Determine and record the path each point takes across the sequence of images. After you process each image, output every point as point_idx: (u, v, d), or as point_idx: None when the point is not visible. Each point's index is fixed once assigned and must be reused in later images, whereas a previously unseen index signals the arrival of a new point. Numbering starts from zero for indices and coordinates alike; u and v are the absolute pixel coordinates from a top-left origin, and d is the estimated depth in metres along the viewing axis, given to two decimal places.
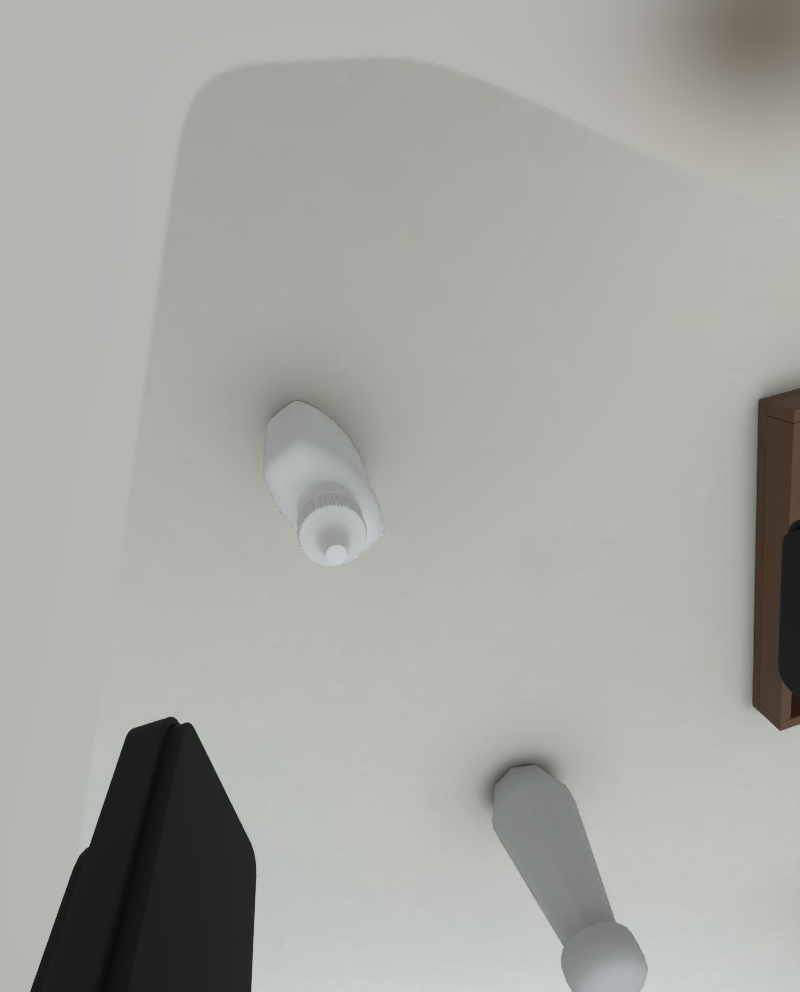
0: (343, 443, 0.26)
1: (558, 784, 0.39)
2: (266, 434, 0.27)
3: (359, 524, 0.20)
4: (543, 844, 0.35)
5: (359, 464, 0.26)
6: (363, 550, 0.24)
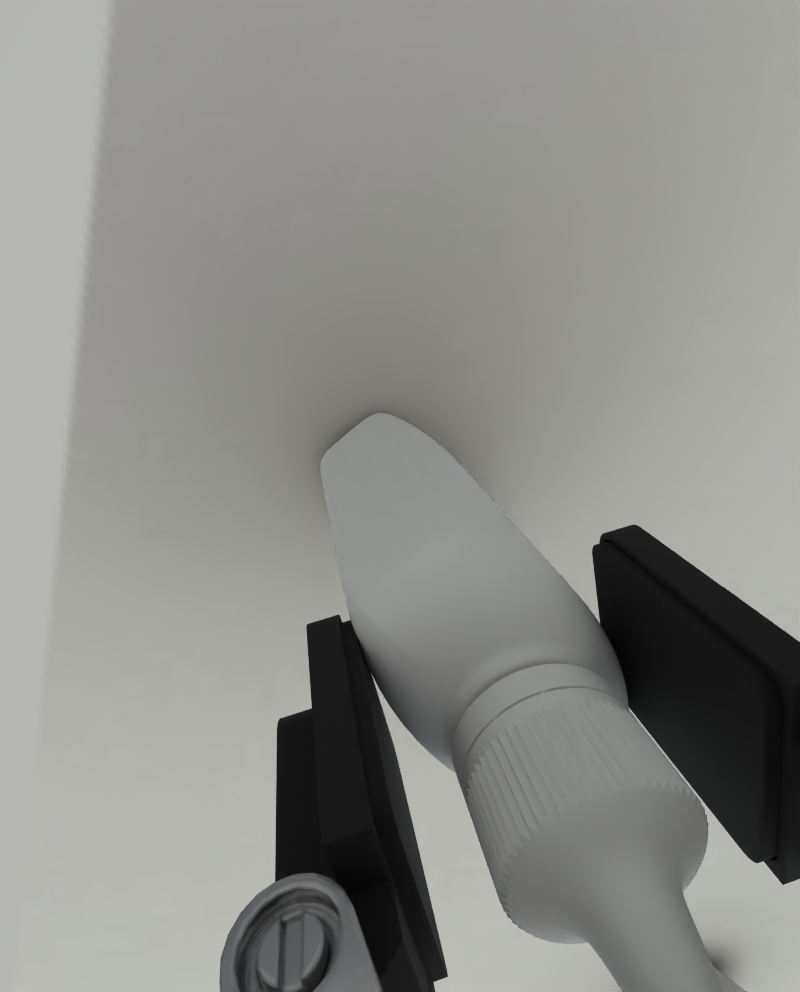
0: (498, 506, 0.12)
1: None
2: (328, 485, 0.13)
3: (699, 832, 0.06)
4: None
5: None
6: None
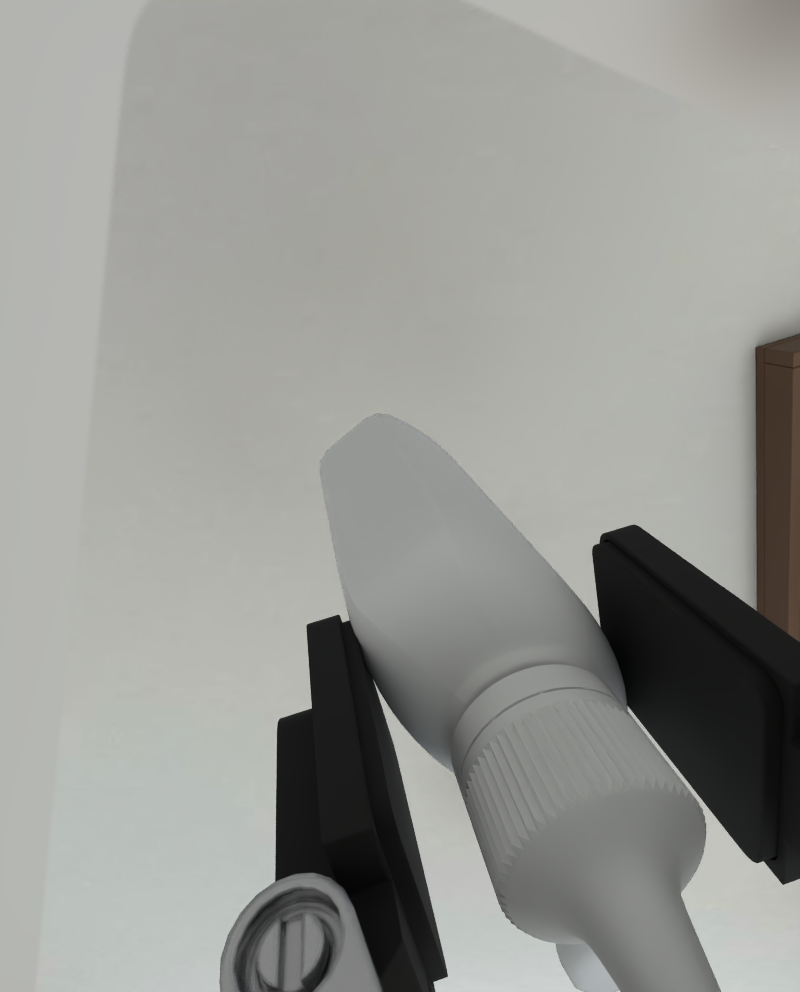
0: (497, 507, 0.12)
1: None
2: (327, 486, 0.13)
3: (697, 833, 0.06)
4: None
5: None
6: None
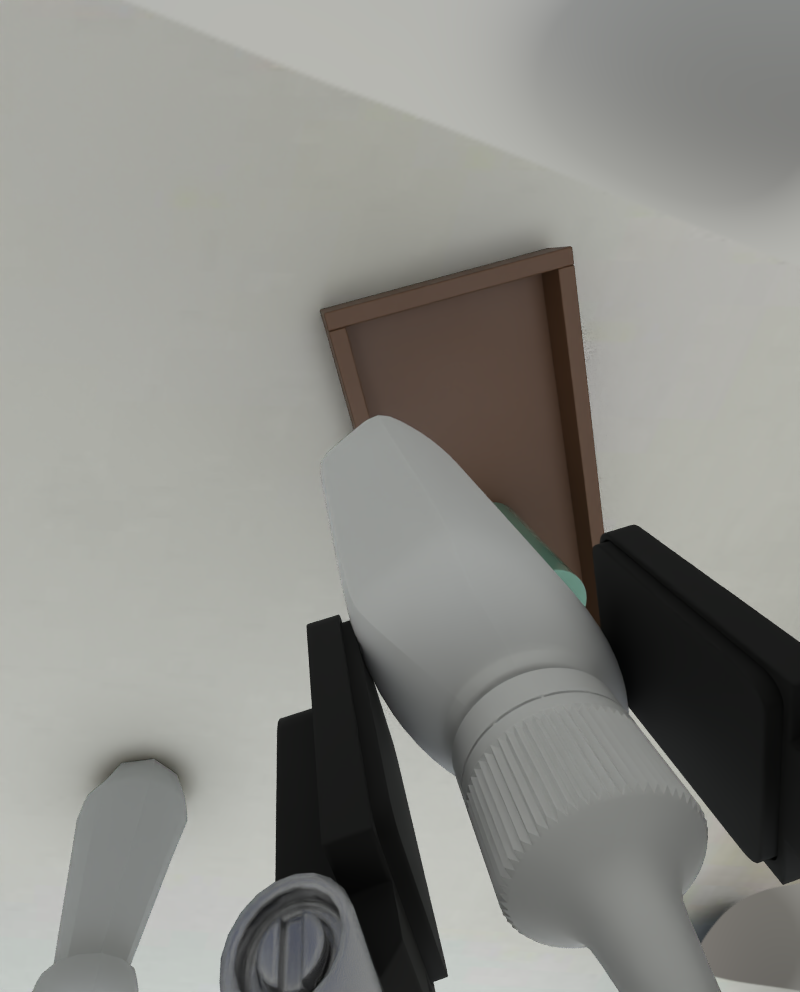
0: (498, 509, 0.12)
1: (153, 782, 0.33)
2: (328, 487, 0.13)
3: (698, 837, 0.06)
4: (86, 854, 0.29)
5: None
6: None
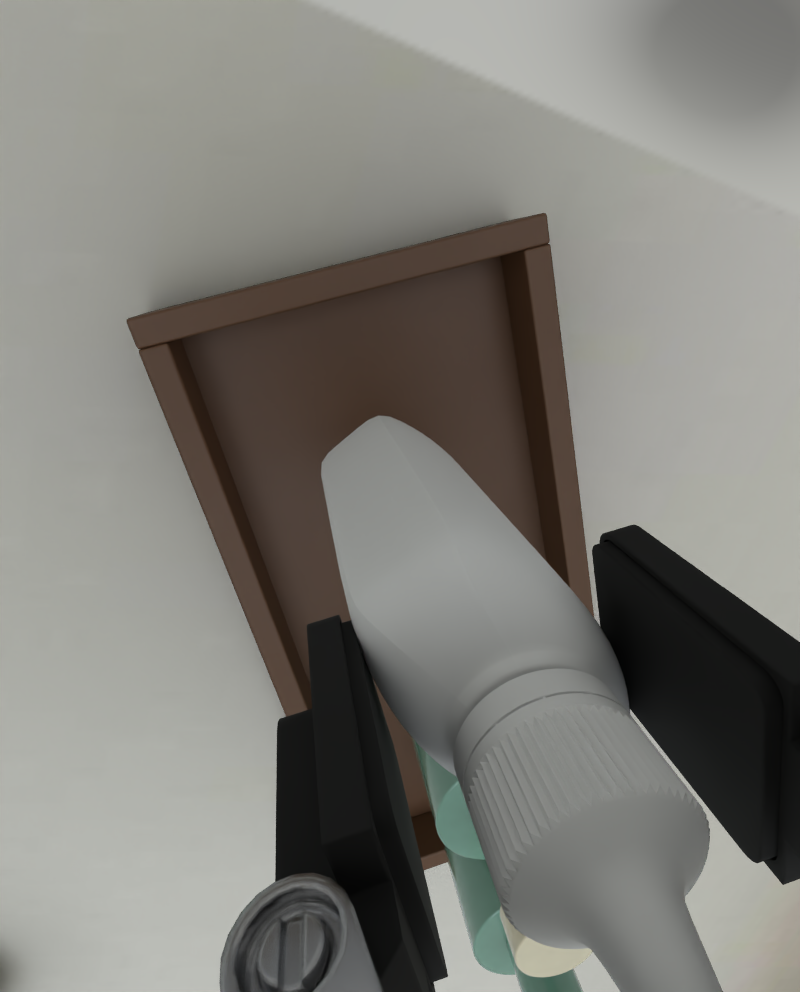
0: None
1: None
2: (329, 488, 0.13)
3: (700, 838, 0.06)
4: None
5: None
6: None
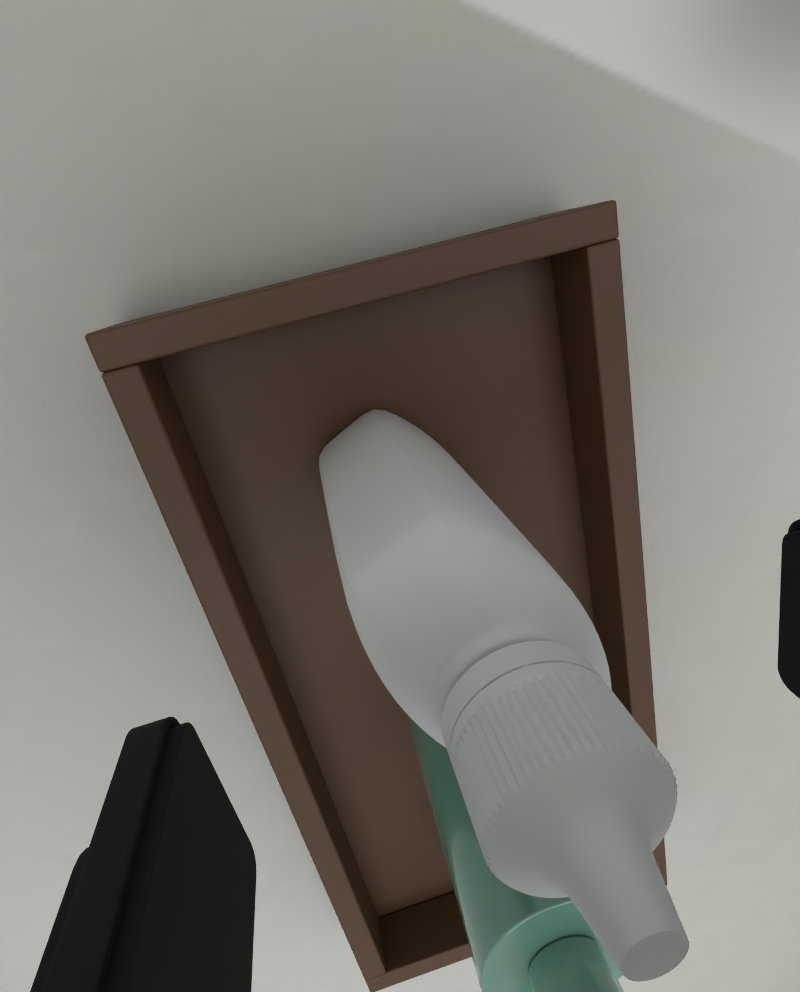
0: (489, 498, 0.13)
1: None
2: (326, 478, 0.13)
3: (667, 792, 0.07)
4: None
5: None
6: None
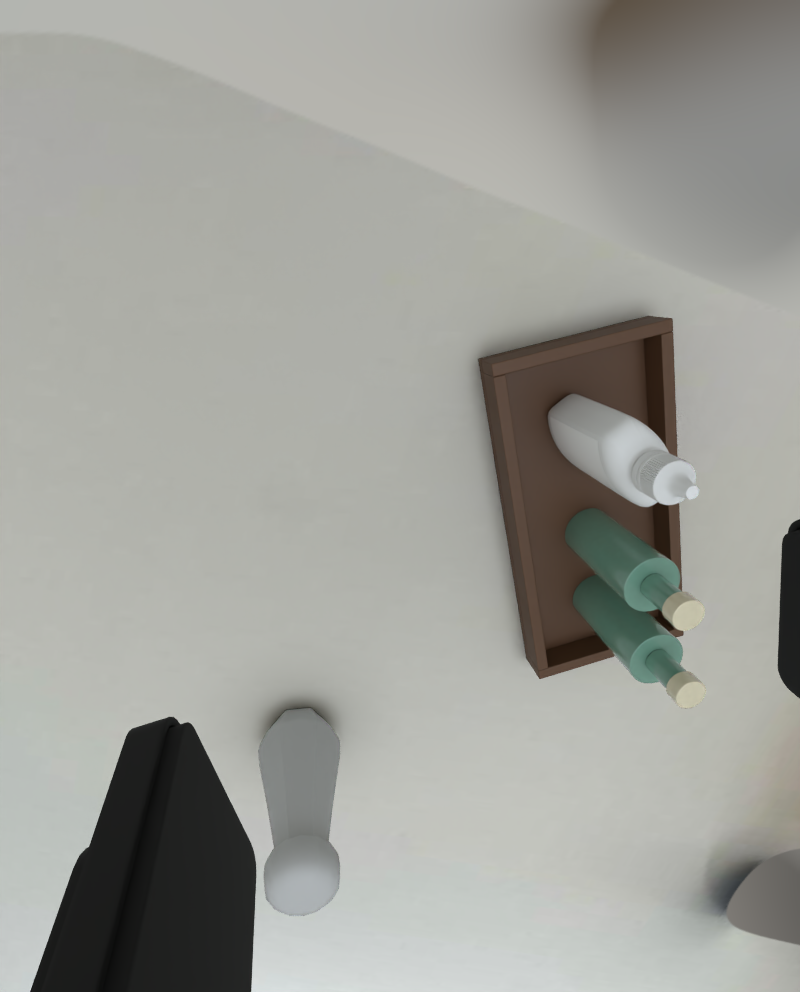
0: None
1: (318, 723, 0.41)
2: (564, 417, 0.36)
3: (694, 474, 0.29)
4: (282, 771, 0.38)
5: None
6: None
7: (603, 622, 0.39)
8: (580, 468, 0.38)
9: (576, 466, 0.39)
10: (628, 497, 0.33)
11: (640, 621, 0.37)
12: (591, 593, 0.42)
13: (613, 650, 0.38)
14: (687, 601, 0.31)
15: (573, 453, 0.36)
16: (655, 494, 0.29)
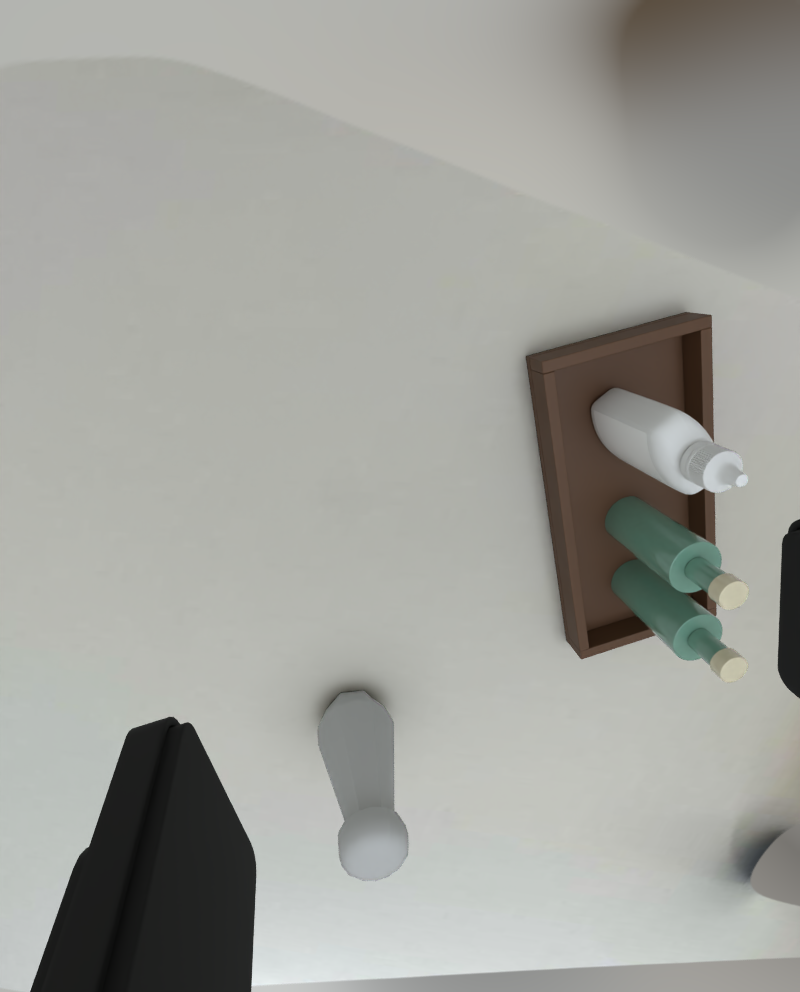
0: None
1: (374, 704, 0.43)
2: (609, 410, 0.38)
3: (741, 464, 0.31)
4: (345, 749, 0.40)
5: None
6: (703, 488, 0.35)
7: (644, 604, 0.42)
8: (623, 458, 0.40)
9: (618, 456, 0.41)
10: (674, 485, 0.35)
11: (681, 603, 0.40)
12: (630, 577, 0.44)
13: (655, 630, 0.40)
14: (733, 582, 0.33)
15: (618, 444, 0.38)
16: (705, 482, 0.31)
